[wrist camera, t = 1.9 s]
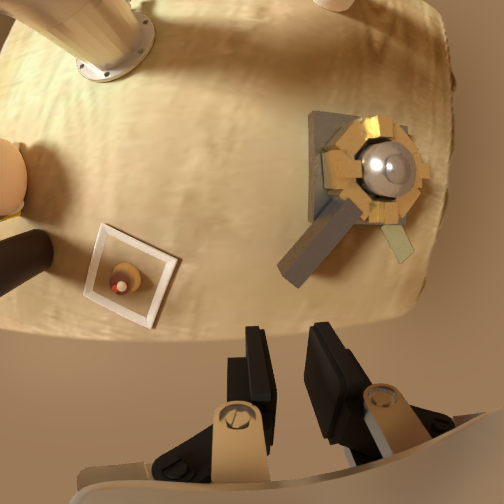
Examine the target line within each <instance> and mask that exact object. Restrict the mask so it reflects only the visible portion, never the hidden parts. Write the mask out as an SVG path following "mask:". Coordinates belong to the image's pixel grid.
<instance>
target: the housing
mask: <svg viewBox="0 0 504 504" xmlns="http://www.w3.org/2000/svg"><path fill="white" fill-rule="evenodd" d="M359 118H361V117H357V116H351V115H344V114H337V113H329V112H320V111H313V112H312V113H310V114H309V115H308V128H309V202H308V221H309V222H311V223H313V222H314V221H315V220H316V219H317V218H318V216H319V215H320V214H321V213H322V212H323V210H324V209H325V208H326V207H327V206H328V204H329V203H330V202H331V201H332V200H333V199H332V198H331V197H330V196H329V195H328V194H327V193H328V192H329V190H330V189H328V188H325V187H324V173H323V161H322V153H325V152H327V151H326V150H325V149H324V147H325V146H326V145H327V144H328V142H329V141H330V140H331V139H332V138H333V137H334V135H335V134H336V133H337V132H338V131H339V130H340V129H341V127H342V126H343V125H345V124H347V123H349V122H351V121H354V120H356V119H359ZM399 126H400V127H401V128H402V129H403V130H404V132H405V133H406V134H407V135H408V128H407V127H406V126H402V125H399ZM354 159H355V160H361V167H362V178H356V183H357V184H358V185H359V186H360V188H361V189H362V190H363V191H364V192H365V193H366V194H367V195H368V196H369V197H370V198H379V197H380V195H381V196H388V197H395V198H398V197H402V196H404V195H406V194H407V193H409V192H410V190H411V189H412V188H413V186H414V183H415V180H416V173H417V172H416V164H415V160H414V158H413V156H412V154H411V152H410V151H409V150H408V149H407V148H406V147H405V146H404V145H402V144H401V143H399V142H395V141H388V142H383V143H378V144H375V143H367V142H365V143H364V144H363V146H362V147H361V148H360V149H359V151H358V152H357V153H356V154H355V155H354ZM406 221H407V214H406V215H405V216H404V218H400V217H399V221H398V224H382V223H379V222H374V223H368V222H365V221H362V220H359V219H358V220H357V221H356V222H355V224H365V225H382V226H381V227H380V228H381V230H382V232H383V234H384V235H385V237H386V239H387V241H388V243H389V245H390V247H391V248H392V250H393V252H394V254H395V256H396V258H397V260H398V262H399V264H401V263H402V262H403V261H404V260H405V259H406V258H407V257H408V256H409V255H410V254H412V253H413V252H414V250H413V248H412V246H411V244H410V241H409V239H408V237H407V235H406V233H405V231H404V229H403V227H402V226H406Z"/></svg>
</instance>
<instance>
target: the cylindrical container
mask: <svg viewBox="0 0 504 504" xmlns="http://www.w3.org/2000/svg"><path fill="white" fill-rule="evenodd" d="M354 1H355V0H313V2H315V3H316V4H317V5H319V6H321V7H323V8H325V9H327V10H331V11H336V12H342V11H345V10H347V9H349V8H350V6H351V5H352V4H353V2H354Z"/></svg>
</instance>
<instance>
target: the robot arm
mask: <svg viewBox="0 0 504 504" xmlns="http://www.w3.org/2000/svg"><path fill="white" fill-rule="evenodd" d="M130 1H131V0H0V12H1V13H4V14H7V15H9V16H11V17H13V18H15V19H17V20H19V21H20V22H22V23H24V24H26V25H27V26H29V27H30V28H32V29H34V30H35V31H37V32H38V33H40V34H41V35H43V36H44V37H46V38H47V39H49V40H50V41H52V42H53V43H55V44H56V45H58V46H59V47H61V48H62V49H64V50H65V51H67V52H68V53H70V54H71V55H72V56H74V57H75V58H77V59H76V63H77V68H78V71H79V72H80V74H81V75H82V76H83V77H85V78H86V79H88V80H90V81H94V82H107V81H111V80H114V79H117V78H119V77H121V76H123V75H125V74H127V73H128V72H130V71H131V70H133V69H134V68H135V67H136V66H137V65H139V64H140V63H141V61H142V60H143V59H144V58H145V57H146V56H147V54H148V53H149V51H150V49H151V47H152V45H153V43H154V39H155V29H154V25H153V23H152V21H151V20H150V19H149V18H148V17H147V16H146V15H144V14H142V13H139V12H133V11H132V10H131V4H130ZM245 334H246V357H238V358H228V367H227V403H224V404H222V405H221V406H219V407H218V408H217V410H216V411H215V414H214V421H213V424H212V425H211V426H209V427H208V428H206V429H205V430H203V431H202V432H200V433H198V434H197V435H195V436H194V437H192V438H191V439H189V440H187V441H185V442H184V443H182V444H180V445H179V446H177V447H175V448H174V449H172V450H170V451H168V452H167V453H165V454H163V455H161V456H160V457H159V458H157V459H156V460H155V461H154V463H149V464H144V462H136V463H129V464H119V465H108V466H92V467H88V468H85V469H83V470H81V471H80V473H79V474H78V476H77V489H78V492H77V493H76V494H75V495H74V497H73V498H72V499H71V501H70V503H69V504H504V407H500V408H497V409H494V410H491V411H489V412H483V413H476V414H469V415H460V416H453V417H452V418H450V417H448V416H447V415H444V414H441V413H437V412H433V411H430V410H426V409H422V408H419V407H415V406H412V405H409V404H408V403H407V401H406V400H405V398H404V397H403V395H402V394H401V393H400V392H399V390H398V389H397V388H395V387H394V386H391V385H389V384H383V383H378V384H373V385H372V383H371V382H370V380H369V378H368V377H367V375H366V374H365V372H364V371H363V369H362V367H361V366H360V364H359V363H358V361H357V360H356V358H355V357H354V355H353V353H352V352H351V351H350V350H349V349H345V347H344V345H343V344H342V342H341V341H340V339H339V338H338V336H337V335H336V333H335V331H334V330H333V328H332V327H331V325H330V324H329V322H319V323H315V324H314V326H311V327H310V329H309V338H308V347H307V355H306V363H305V371H304V382H305V385H306V388H307V391H308V394H309V397H310V400H311V403H312V406H313V408H314V412H315V415H316V417H317V420H318V423H319V426H320V429H321V432H322V435H323V437H324V438H325V439H326V438H328V440H329V443H330V445H333V444H337V443H339V444H340V445H342V446H344V452H345V455H346V458H347V460H348V463H349V465H350V468H348V469H344V470H340V471H336V472H331V473H326V474H321V475H316V476H311V477H305V478H298V479H290V480H282V481H272V482H271V481H270V474H269V468H268V460H267V456H268V455H269V454H270V446H272V445H273V438H274V427H275V415H276V403H277V389H276V383H275V379H274V374H273V369H272V364H271V359H270V355H269V350H268V345H267V340H266V335H265V331H264V329H259V326H246V327H245Z"/></svg>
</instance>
